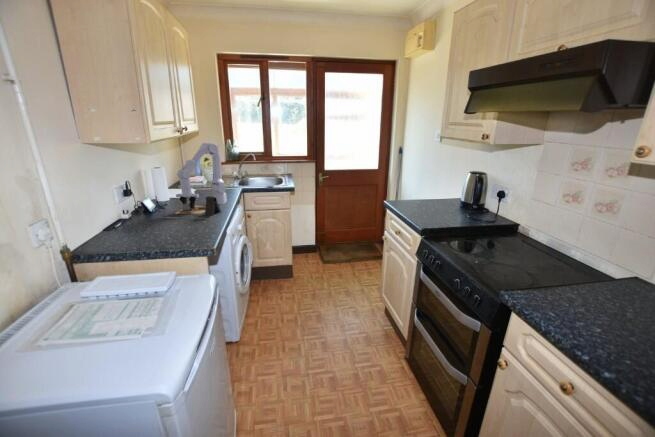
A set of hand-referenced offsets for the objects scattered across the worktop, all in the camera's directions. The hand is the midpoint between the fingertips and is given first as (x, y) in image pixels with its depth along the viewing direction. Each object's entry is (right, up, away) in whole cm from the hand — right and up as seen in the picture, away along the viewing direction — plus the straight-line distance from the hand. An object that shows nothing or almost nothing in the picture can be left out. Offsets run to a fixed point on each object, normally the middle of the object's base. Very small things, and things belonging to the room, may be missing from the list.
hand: (189, 207), depth 197 cm
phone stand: (+17, -5, -3) cm, 18 cm away
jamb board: (+2, -2, +4) cm, 5 cm away
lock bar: (0, -1, 0) cm, 1 cm away
